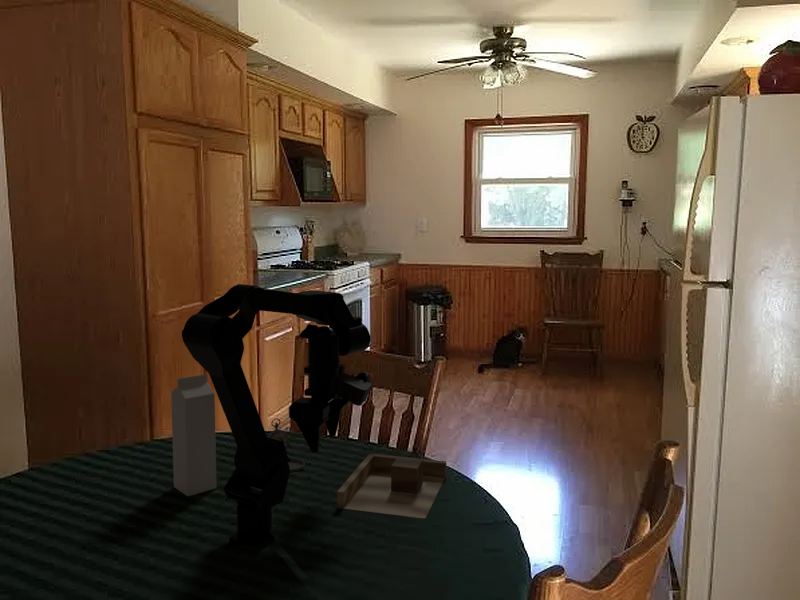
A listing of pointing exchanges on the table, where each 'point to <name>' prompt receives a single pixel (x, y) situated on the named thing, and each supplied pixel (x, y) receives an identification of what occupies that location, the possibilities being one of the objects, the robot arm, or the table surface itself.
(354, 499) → the board
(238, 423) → the robot arm
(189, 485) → the milk
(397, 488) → the walnut block
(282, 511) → the table surface
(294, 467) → the pocket watch
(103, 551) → the table surface
